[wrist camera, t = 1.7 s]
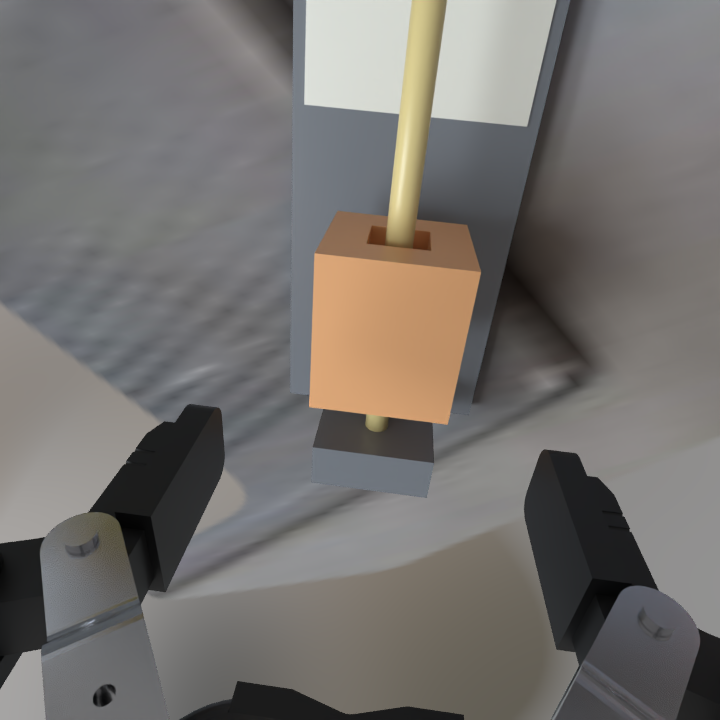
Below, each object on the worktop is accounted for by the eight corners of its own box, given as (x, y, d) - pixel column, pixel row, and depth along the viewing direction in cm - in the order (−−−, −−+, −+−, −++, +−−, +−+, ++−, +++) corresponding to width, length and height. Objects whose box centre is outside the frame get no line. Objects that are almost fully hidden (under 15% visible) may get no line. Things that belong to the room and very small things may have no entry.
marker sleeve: (337, 210, 20) (314, 253, 16) (467, 224, 20) (481, 272, 15) (330, 340, 23) (309, 407, 19) (442, 354, 23) (447, 424, 18)
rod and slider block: (303, -321, 15) (209, -632, 8) (636, -301, 15) (823, -614, 8) (293, 382, 29) (255, 483, 22) (467, 404, 28) (482, 513, 21)
